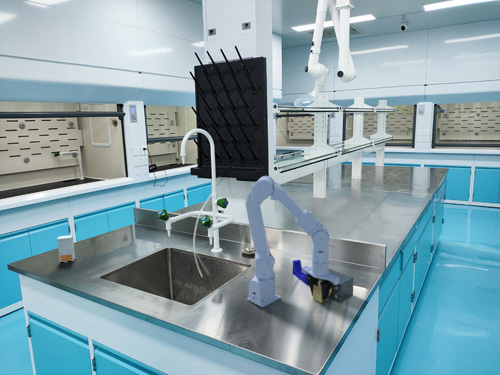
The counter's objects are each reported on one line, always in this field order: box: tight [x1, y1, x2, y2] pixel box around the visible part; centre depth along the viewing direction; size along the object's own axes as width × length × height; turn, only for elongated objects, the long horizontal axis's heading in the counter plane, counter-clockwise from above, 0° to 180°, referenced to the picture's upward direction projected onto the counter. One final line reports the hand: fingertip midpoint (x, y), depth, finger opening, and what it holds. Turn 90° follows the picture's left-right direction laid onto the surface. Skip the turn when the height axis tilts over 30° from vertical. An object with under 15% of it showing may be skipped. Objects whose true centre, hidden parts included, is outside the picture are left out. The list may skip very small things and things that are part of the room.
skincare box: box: [56, 234, 76, 263], centre depth 164 cm, size 6×4×12 cm
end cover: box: [312, 281, 332, 304], centre depth 124 cm, size 10×6×6 cm, turn 133°
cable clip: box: [292, 259, 310, 287], centre depth 140 cm, size 12×4×6 cm, turn 22°
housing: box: [318, 268, 355, 304], centre depth 127 cm, size 9×12×7 cm
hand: (319, 297), depth 122 cm, fingers closed on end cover, 4 cm apart
